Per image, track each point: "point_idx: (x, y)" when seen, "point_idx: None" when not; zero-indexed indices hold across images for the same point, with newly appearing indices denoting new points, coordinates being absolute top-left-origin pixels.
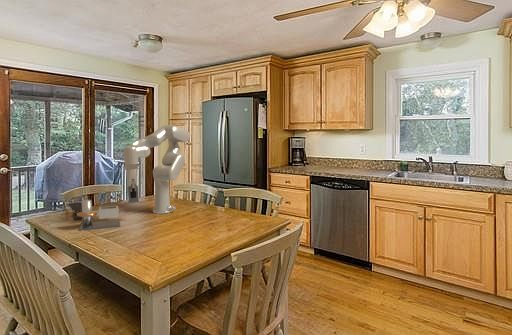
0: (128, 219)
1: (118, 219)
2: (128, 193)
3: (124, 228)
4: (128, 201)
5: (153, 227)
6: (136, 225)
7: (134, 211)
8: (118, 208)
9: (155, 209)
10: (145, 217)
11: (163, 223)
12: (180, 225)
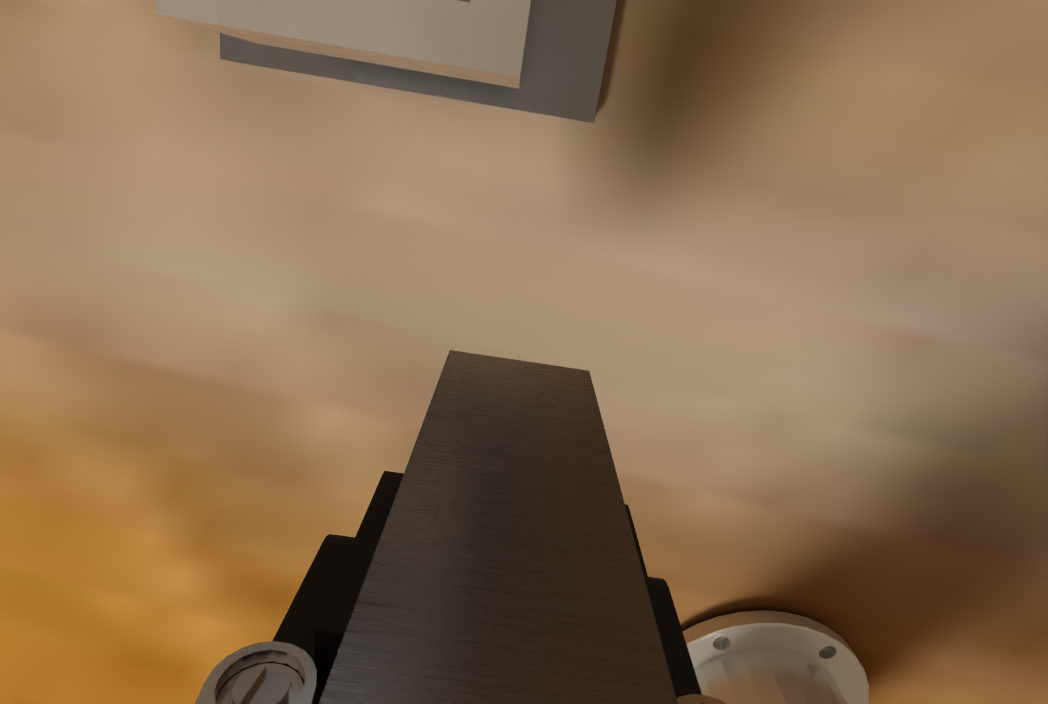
0: (609, 267)
1: (595, 109)
2: (392, 506)
3: (100, 96)
4: (527, 372)
5: (28, 436)
6: (208, 285)
7: (1029, 444)
8: (158, 12)
9: (769, 664)
10: None
11: (178, 568)
12: (26, 672)
